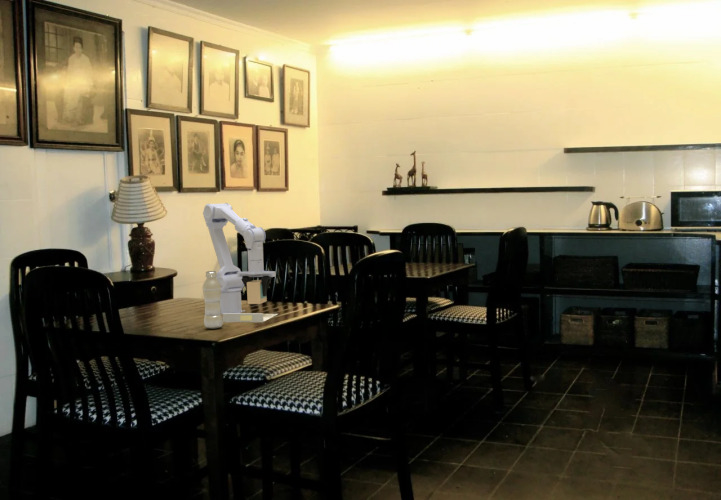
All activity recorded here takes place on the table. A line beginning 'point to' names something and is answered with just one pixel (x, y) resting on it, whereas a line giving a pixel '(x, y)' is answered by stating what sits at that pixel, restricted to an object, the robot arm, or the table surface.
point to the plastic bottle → (212, 301)
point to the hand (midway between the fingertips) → (257, 296)
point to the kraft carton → (255, 292)
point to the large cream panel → (246, 317)
